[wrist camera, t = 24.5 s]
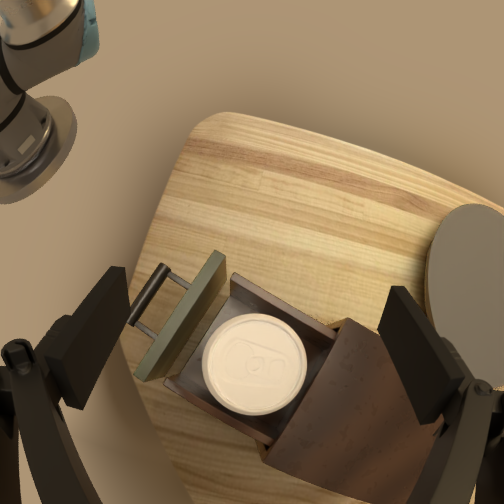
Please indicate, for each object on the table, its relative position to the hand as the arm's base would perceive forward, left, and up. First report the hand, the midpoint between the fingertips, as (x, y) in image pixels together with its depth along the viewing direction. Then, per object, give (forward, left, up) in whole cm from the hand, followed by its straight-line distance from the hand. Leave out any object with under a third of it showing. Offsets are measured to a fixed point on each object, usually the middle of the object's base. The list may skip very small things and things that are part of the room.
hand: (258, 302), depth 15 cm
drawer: (-1, -2, -22) cm, 22 cm away
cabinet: (+16, -2, -22) cm, 27 cm away
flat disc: (+30, +22, -23) cm, 43 cm away
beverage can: (+2, -2, -21) cm, 21 cm away
